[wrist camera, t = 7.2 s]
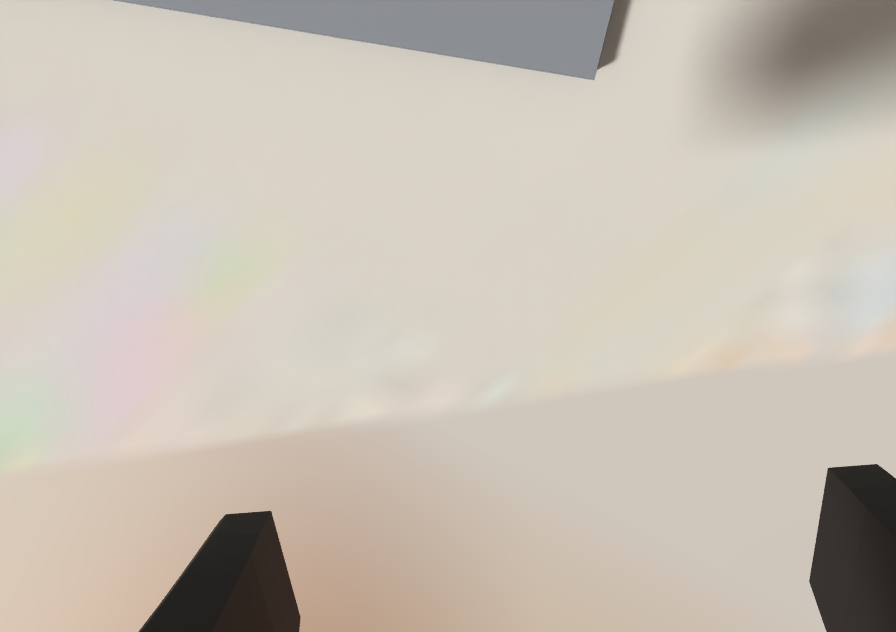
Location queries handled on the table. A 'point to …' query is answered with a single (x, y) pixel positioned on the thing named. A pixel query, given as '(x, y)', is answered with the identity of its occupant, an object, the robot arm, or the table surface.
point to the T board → (440, 26)
